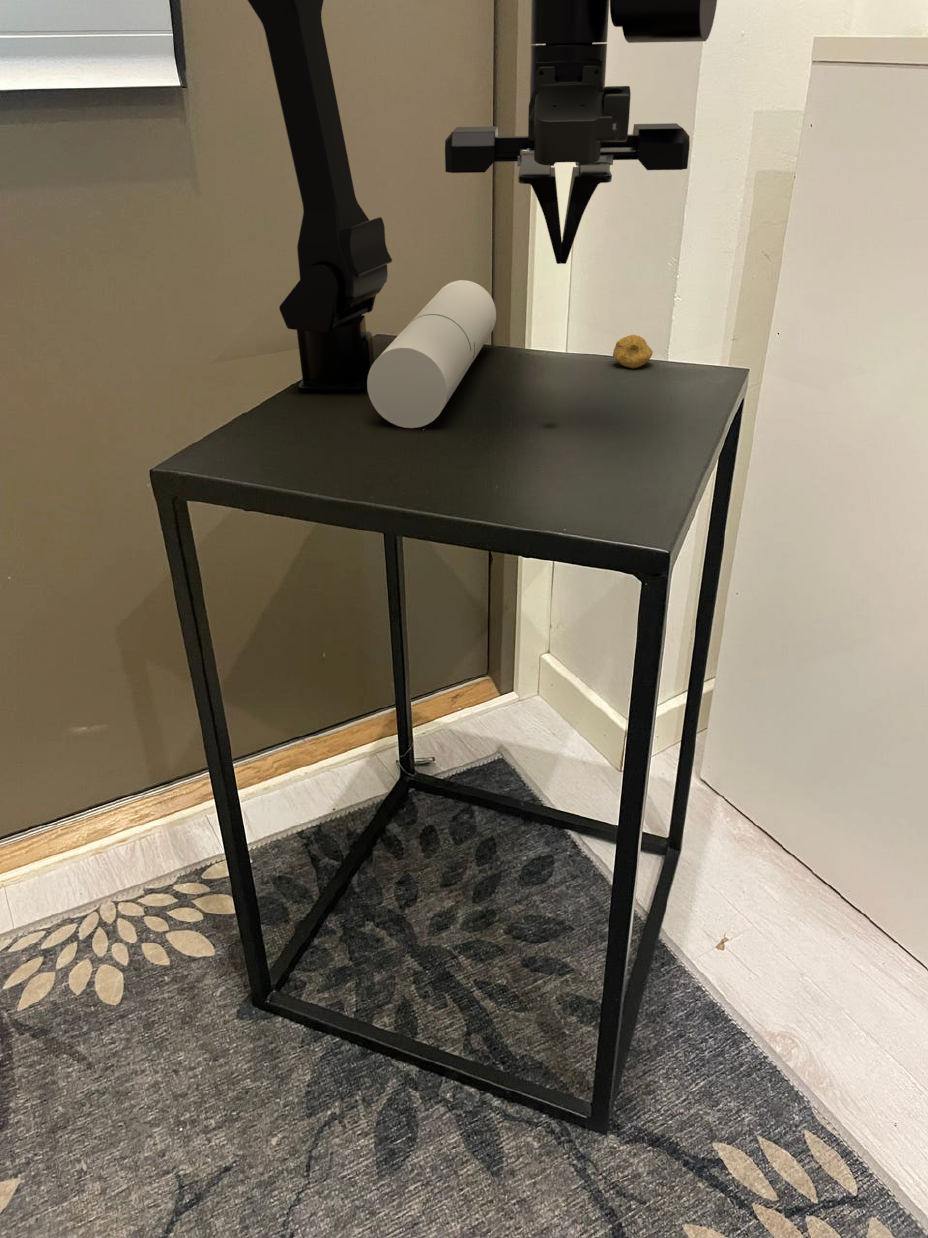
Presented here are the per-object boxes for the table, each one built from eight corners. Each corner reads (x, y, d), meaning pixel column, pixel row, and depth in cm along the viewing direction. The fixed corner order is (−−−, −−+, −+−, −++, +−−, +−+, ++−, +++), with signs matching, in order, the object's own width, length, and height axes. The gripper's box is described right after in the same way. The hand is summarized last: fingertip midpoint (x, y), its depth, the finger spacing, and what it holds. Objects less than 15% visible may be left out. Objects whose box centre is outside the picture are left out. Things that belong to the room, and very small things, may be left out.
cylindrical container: (444, 433, 81) (493, 350, 102) (449, 353, 77) (499, 284, 98) (366, 421, 82) (430, 342, 103) (367, 342, 78) (433, 276, 99)
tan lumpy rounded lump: (606, 364, 96) (608, 337, 94) (634, 357, 98) (636, 329, 96) (630, 372, 93) (633, 344, 92) (658, 364, 95) (661, 337, 94)
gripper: (434, 49, 63) (442, 286, 71) (711, 42, 62) (686, 284, 70) (448, 46, 72) (453, 256, 81) (689, 40, 71) (669, 254, 79)
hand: (561, 262), depth 77 cm, fingers closed
